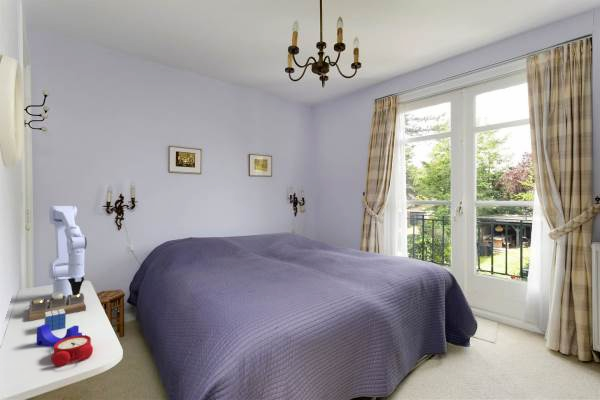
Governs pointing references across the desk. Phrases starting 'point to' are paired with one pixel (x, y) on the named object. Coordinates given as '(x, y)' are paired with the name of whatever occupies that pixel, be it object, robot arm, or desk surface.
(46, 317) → the puzzle toy
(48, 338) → the blue curved block
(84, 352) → the alarm clock
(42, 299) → the knob
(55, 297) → the knob middle
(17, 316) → the desk surface
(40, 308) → the knob panel
